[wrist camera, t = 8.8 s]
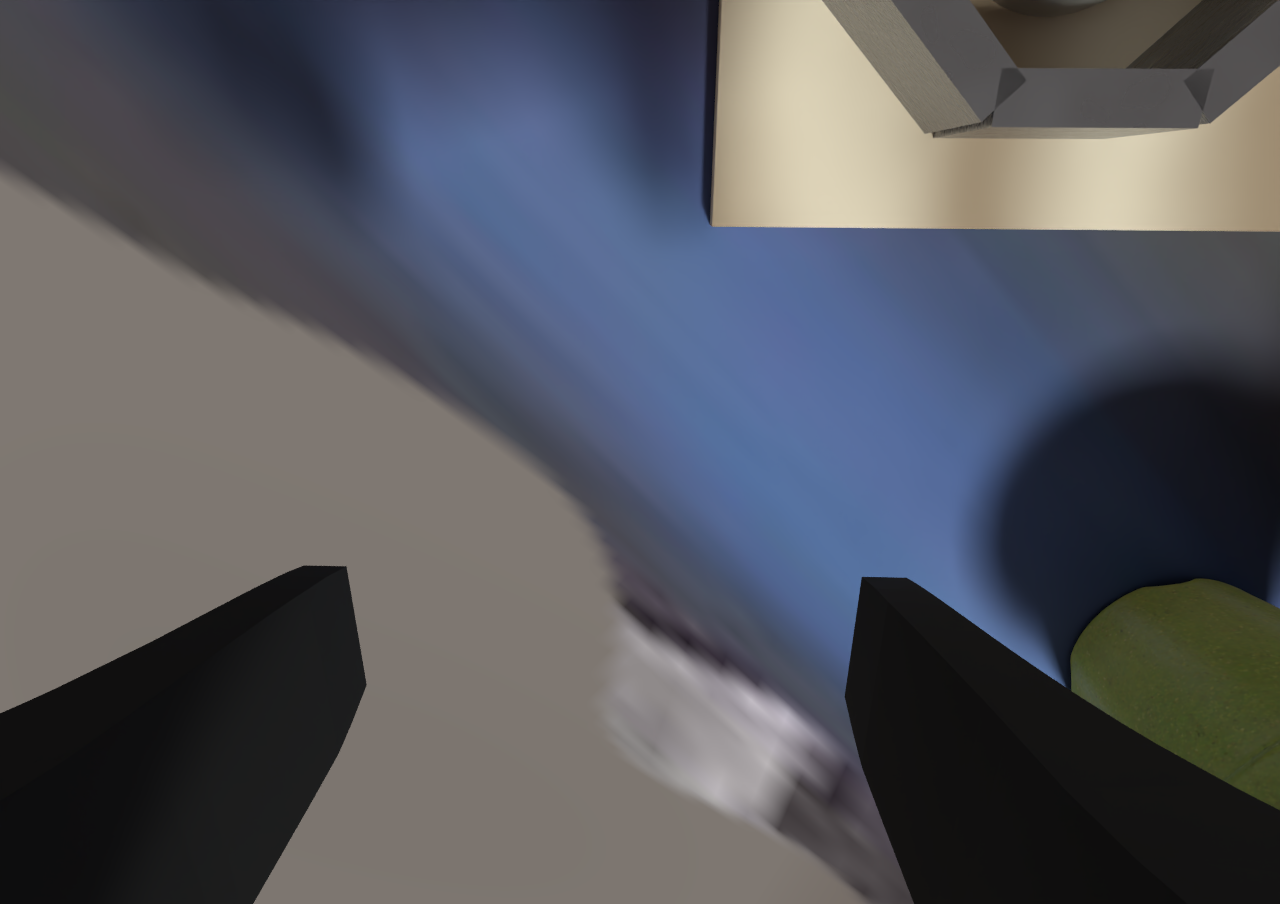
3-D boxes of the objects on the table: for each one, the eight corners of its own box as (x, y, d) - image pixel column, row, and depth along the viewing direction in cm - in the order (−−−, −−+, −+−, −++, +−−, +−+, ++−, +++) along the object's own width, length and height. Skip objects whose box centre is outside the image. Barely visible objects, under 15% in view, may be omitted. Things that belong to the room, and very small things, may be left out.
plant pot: (949, 696, 23) (1111, 979, 15) (1158, 470, 20) (1511, 669, 11) (1161, 805, 24) (1415, 1117, 16) (1387, 610, 21) (1843, 874, 13)
